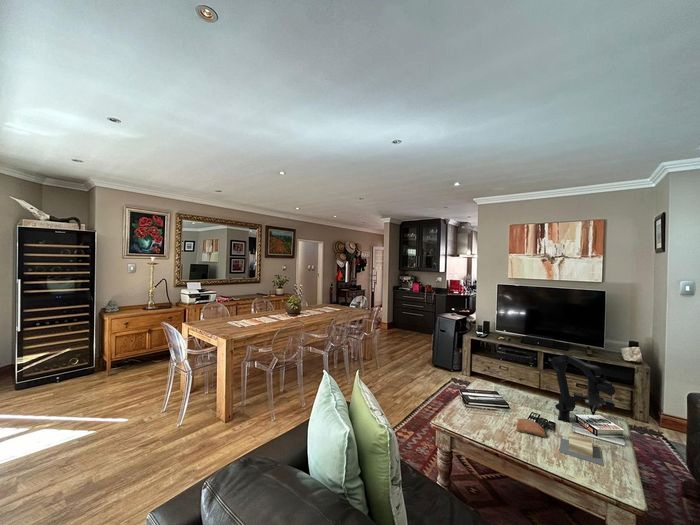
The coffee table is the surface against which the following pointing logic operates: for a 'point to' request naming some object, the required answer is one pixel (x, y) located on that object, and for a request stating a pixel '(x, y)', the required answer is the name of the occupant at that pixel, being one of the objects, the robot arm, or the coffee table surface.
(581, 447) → the oak slab
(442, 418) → the coffee table surface
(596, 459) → the mat
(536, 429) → the ceramic shard
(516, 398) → the coffee table surface
